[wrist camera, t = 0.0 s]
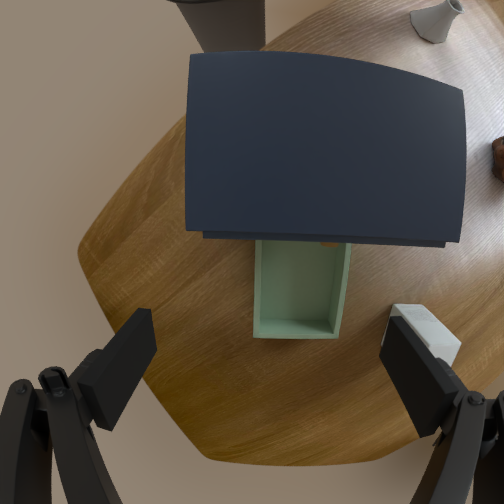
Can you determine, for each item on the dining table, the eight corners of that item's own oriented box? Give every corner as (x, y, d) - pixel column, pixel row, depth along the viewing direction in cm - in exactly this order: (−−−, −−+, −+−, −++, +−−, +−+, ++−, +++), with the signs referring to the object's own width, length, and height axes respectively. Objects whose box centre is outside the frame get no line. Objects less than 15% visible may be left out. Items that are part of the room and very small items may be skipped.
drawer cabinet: (229, 113, 35) (189, 53, 15) (373, 123, 34) (463, 89, 14) (227, 210, 39) (186, 252, 18) (369, 216, 38) (456, 260, 18)
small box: (409, 343, 43) (440, 388, 31) (379, 344, 43) (407, 393, 31) (423, 303, 41) (462, 342, 28) (392, 302, 41) (429, 345, 29)
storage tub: (257, 200, 38) (256, 204, 33) (344, 205, 38) (355, 209, 33) (254, 320, 43) (253, 337, 38) (331, 321, 42) (338, 338, 38)
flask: (417, 41, 29) (447, 18, 20) (403, 7, 27) (428, -19, 18) (449, 47, 29) (481, 29, 19) (436, 14, 27) (463, -8, 17)
